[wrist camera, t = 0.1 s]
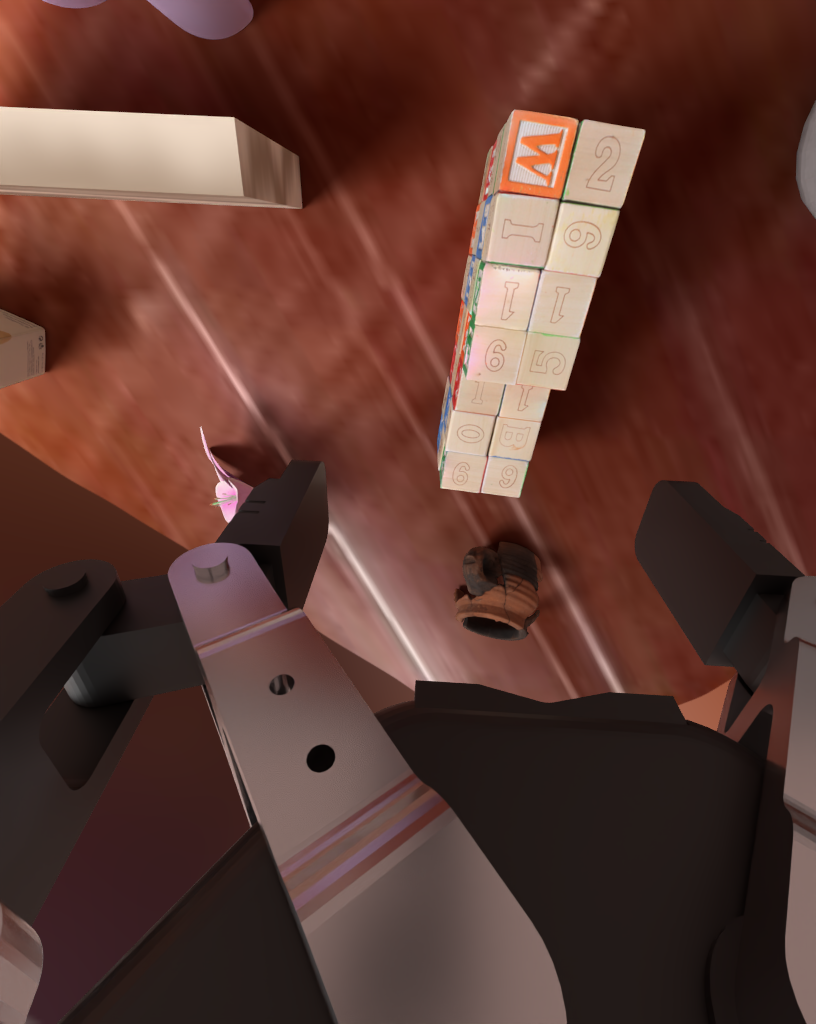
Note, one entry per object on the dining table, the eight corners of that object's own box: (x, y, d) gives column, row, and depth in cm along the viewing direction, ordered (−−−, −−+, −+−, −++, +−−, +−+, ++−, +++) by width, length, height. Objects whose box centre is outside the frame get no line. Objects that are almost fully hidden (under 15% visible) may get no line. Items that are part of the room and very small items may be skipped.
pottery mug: (560, 574, 50) (551, 647, 46) (485, 577, 56) (472, 641, 52) (511, 515, 42) (495, 596, 38) (431, 526, 48) (410, 596, 44)
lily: (237, 386, 41) (141, 431, 35) (338, 460, 39) (256, 522, 33) (234, 473, 50) (157, 522, 43) (316, 537, 48) (248, 597, 42)
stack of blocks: (502, 450, 42) (526, 521, 31) (435, 441, 42) (437, 510, 31) (576, 163, 31) (651, 126, 20) (486, 149, 31) (514, 104, 20)
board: (-16, 141, 31) (-231, 96, 21) (298, 156, 31) (233, 117, 21) (3, 194, 33) (-189, 175, 23) (302, 208, 33) (243, 196, 22)
